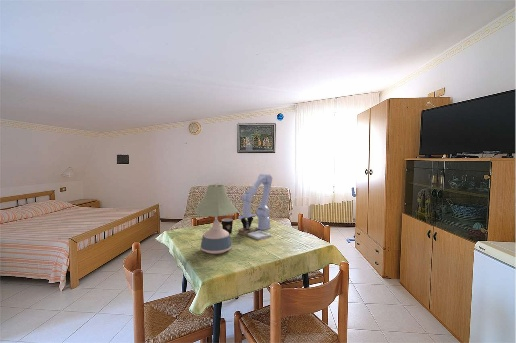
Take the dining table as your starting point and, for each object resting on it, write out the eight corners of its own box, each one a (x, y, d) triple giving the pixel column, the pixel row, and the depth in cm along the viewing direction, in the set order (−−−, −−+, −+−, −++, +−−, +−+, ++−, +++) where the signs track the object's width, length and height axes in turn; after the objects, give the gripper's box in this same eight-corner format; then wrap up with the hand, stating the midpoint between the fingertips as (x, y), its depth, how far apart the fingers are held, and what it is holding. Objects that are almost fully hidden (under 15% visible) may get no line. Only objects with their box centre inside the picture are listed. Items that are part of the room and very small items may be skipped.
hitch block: (248, 230, 193) (248, 226, 193) (255, 233, 187) (255, 229, 187) (238, 233, 187) (238, 229, 187) (244, 235, 181) (244, 231, 181)
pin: (247, 232, 190) (247, 220, 189) (250, 233, 187) (250, 221, 186) (243, 233, 187) (243, 221, 187) (246, 234, 184) (246, 222, 184)
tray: (260, 232, 189) (260, 230, 189) (270, 236, 179) (270, 234, 179) (247, 235, 181) (247, 233, 181) (257, 240, 172) (257, 237, 172)
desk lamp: (195, 261, 135) (195, 186, 133) (194, 244, 163) (193, 181, 160) (241, 256, 143) (241, 185, 140) (232, 240, 170) (232, 180, 168)
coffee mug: (234, 231, 192) (234, 218, 191) (231, 234, 183) (231, 221, 183) (219, 230, 193) (219, 218, 192) (216, 234, 184) (216, 221, 184)
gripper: (251, 207, 194) (251, 224, 194) (235, 210, 185) (235, 227, 185) (256, 209, 188) (256, 226, 189) (241, 211, 179) (241, 230, 180)
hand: (246, 227), depth 187 cm, fingers closed on pin, 4 cm apart
